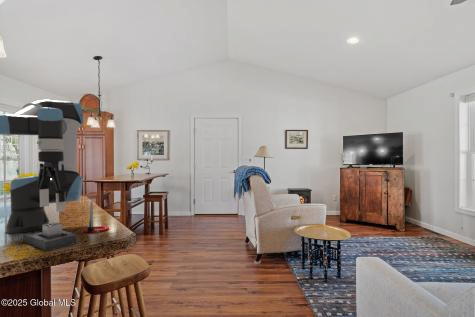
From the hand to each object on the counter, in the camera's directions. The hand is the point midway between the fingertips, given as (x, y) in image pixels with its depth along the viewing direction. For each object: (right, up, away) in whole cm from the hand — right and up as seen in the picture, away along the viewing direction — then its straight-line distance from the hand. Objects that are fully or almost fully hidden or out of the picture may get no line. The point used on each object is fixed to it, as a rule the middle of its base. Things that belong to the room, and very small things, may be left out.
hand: (52, 208), depth 98 cm
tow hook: (+8, -13, +16) cm, 22 cm away
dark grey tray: (-1, -13, +1) cm, 13 cm away
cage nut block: (0, -13, 0) cm, 13 cm away
